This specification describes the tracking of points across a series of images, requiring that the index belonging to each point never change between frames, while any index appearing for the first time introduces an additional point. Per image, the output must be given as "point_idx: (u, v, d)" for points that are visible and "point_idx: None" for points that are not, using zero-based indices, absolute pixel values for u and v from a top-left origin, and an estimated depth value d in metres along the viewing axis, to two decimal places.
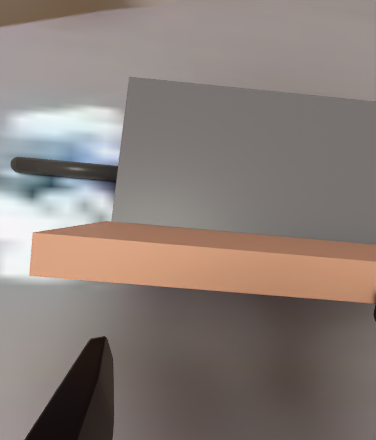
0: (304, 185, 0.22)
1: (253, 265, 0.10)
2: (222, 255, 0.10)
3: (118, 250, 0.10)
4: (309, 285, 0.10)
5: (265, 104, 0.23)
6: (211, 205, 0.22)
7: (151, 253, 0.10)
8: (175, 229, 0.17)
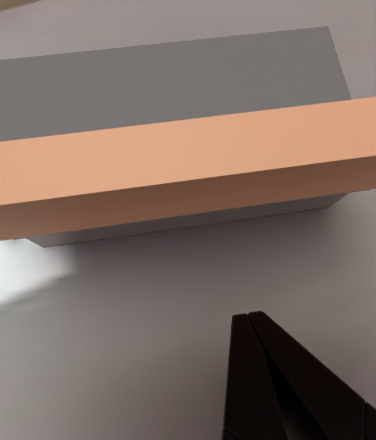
0: None
1: (48, 156, 0.07)
2: (0, 151, 0.07)
3: None
4: (138, 168, 0.07)
5: (156, 58, 0.21)
6: None
7: None
8: None
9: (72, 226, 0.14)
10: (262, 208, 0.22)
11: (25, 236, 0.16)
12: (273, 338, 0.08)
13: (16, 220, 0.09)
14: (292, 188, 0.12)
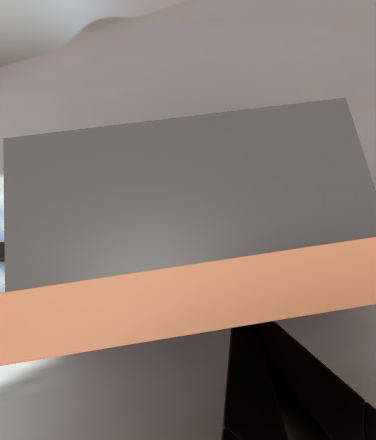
0: (232, 216, 0.19)
1: (59, 307, 0.06)
2: (7, 303, 0.06)
3: None
4: (157, 317, 0.06)
5: (168, 134, 0.20)
6: (126, 267, 0.18)
7: None
8: None
9: None
10: None
11: None
12: (273, 338, 0.08)
13: None
14: None
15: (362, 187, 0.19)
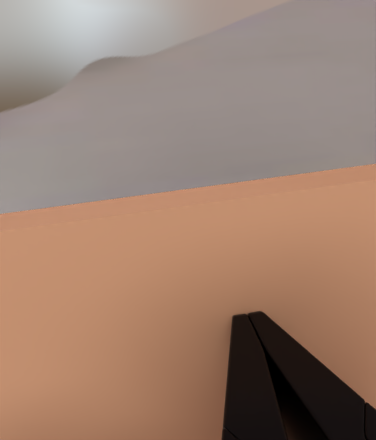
0: None
1: (79, 207, 0.09)
2: (45, 210, 0.09)
3: None
4: (147, 205, 0.08)
5: None
6: None
7: None
8: None
9: None
10: None
11: None
12: (273, 338, 0.08)
13: (24, 332, 0.09)
14: (331, 330, 0.10)
15: None
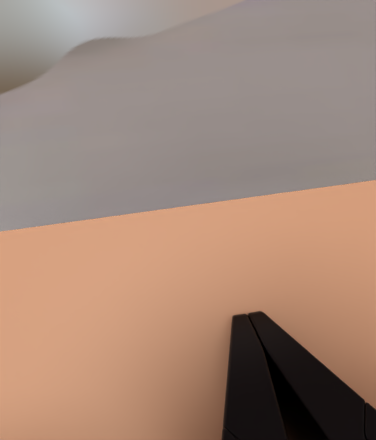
0: None
1: None
2: None
3: None
4: None
5: None
6: None
7: None
8: None
9: None
10: None
11: None
12: (273, 338, 0.08)
13: (37, 323, 0.10)
14: (335, 335, 0.10)
15: None
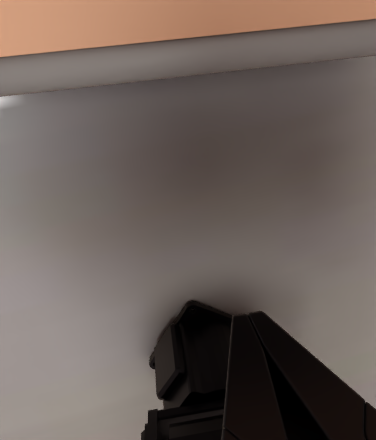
0: None
1: None
2: None
3: None
4: None
5: None
6: None
7: None
8: None
9: None
10: None
11: None
12: (273, 338, 0.08)
13: None
14: None
15: None
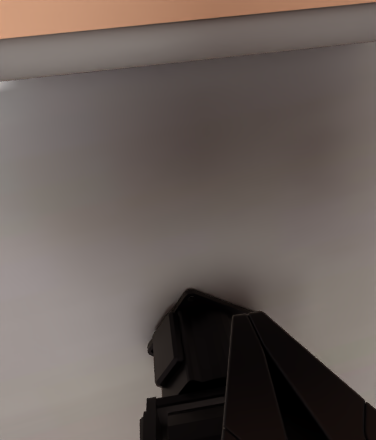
0: None
1: None
2: None
3: None
4: None
5: None
6: None
7: None
8: None
9: None
10: None
11: None
12: (273, 338, 0.08)
13: None
14: None
15: None
